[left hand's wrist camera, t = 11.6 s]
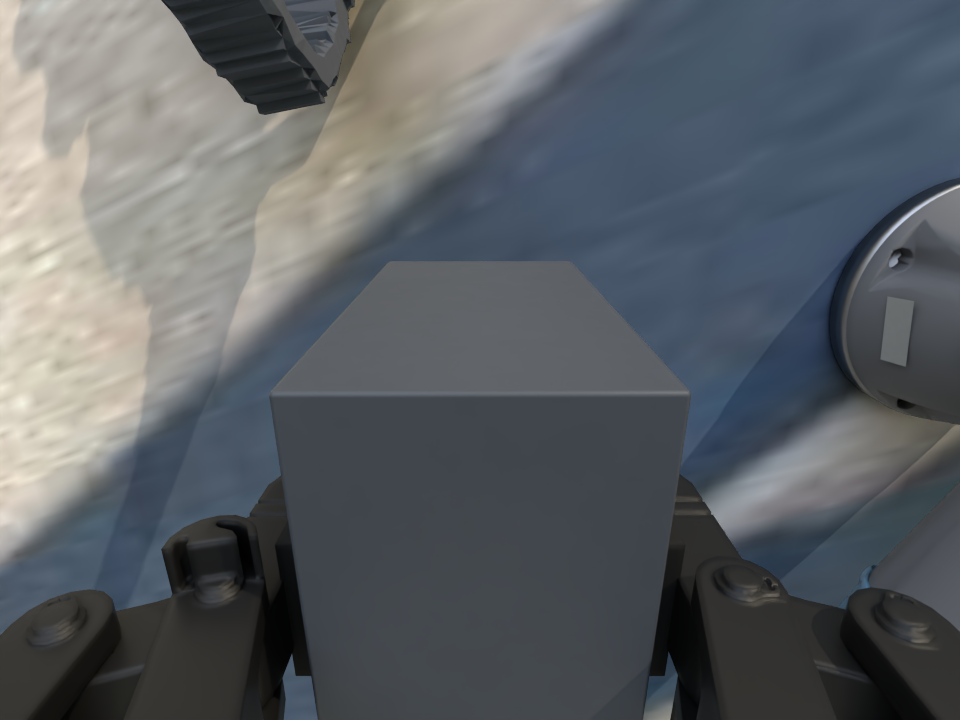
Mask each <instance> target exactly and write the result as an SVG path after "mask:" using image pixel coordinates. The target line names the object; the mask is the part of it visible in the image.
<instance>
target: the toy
mask: <svg viewBox="0 0 960 720" xmlns="http://www.w3.org/2000/svg"><path fill="white" fill-rule="evenodd" d="M162 2H163V3H164V4H165V5H166V6H167V7H168V8H169V9H170V10H171V12H172V13H173V14H174V15H175V16H176V18H177V19H178V20H179V21H180V23H181V24H182V26H183V27H184V29H185V31H186V32H187V34H188V36H189V37H190V39H191V41H192V43H193V44H194V46H195V48H196V49H197V51H198V52H199V54H200V56H201V57H202V59H203V60H204V61H205V62H206V63H208V64H209V65H211V66H212V67H213V68H215V69H216V72H217V75H218V76H220V77H223V78H226V79H227V80H228V81H229V82H230V83H231V84H232V86H233V87H234V88H235V89H236V91H237V92H238V94H239V95H240V96H241V98H242V99H243V101H244V102H247V103H250V104H254V105H257V109H258V112H259V114H263V115H267V114H272V113H277V112H282V111H287V110H292V109H297V108H302V107H307V106H312V105H317V104H322V103H325V100H324V97H326V96H327V92H326V91H327V90H328V89H329V88H330V86H335V84H336V81H337V79H338V74H339V69H340V64H341V59H342V55H343V53H344V52H345V48H346V44H347V43H351V40H350V37H351V35H350V31H349V26H348V25H349V22H348V19H349V16H348V12H349V10H350V8H352V7H354V6H355V0H162Z"/></svg>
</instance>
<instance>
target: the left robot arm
mask: <svg viewBox="0 0 960 720" xmlns="http://www.w3.org/2000/svg"><path fill="white" fill-rule="evenodd" d="M830 338H831V344H832V348H833V351H834V355H835V357H836V360H837V362H838V364H839V366H840V368H841V369H842V371H843V373H844V374H845V375H846V377H847V378H848V379H849V380H850V381H851V382H852V383H853V384H854V385H855V386H856V387H857V388H858V389H860V390H861V391H862V392H864V393H865V394H867V395H869V396H870V397H872V398H874V399H875V400H877V401H879V402H880V403H882V404H884V405H885V406H887V407H889V408H891V409H894V410H896V411H898V412H901V413H904V414H908V415H912V416H916V417H920V418H926V419H931V420H936V421H942V422H948V423H953V424H959V425H960V178H957V179H954V180H950V181H947V182H944V183H941V184H938V185H936V186H933V187H931V188H929V189H927V190H925V191H922V192H921V193H919V194H917V195H915V196H914V197H912V198H910V199H908V200H907V201H905V202H904V203H902V204H901V205H899V206H898V207H897V208H895V209H894V210H893V211H892V212H890V213H889V214H888V215H887V216H886V217H884V218H883V219H882V220H881V221H880V222H879V223H878V224H877V225H876V226H875V227H874V228H873V229H872V230H871V231H870V232H869V233H868V234H867V236H866V237H865V238H864V239H863V240H862V242H861V243H860V244H859V245H858V247H857V248H856V250H855V251H854V253H853V254H852V256H851V257H850V259H849V261H848V263H847V264H846V266H845V268H844V270H843V272H842V274H841V276H840V279H839V281H838V284H837V287H836V289H835V293H834V297H833V300H832V305H831V312H830ZM161 550H162V554H163V558H164V562H165V566H166V570H167V574H168V578H169V582H170V586H171V590H172V596H171V598H168V599H164V600H161V601H158V602H154V603H150V604H146V605H141V606H137V607H133V608H128V609H124V610H120V611H116V610H115V607H114V604H113V600H112V598H110V597H109V596H108V595H107V594H106V593H105V592H102V591H96V590H82V591H74V592H69V593H66V594H64V595H61V596H58V597H55V598H52V599H49V600H47V601H46V602H44V603H42V604H40V605H38V606H36V607H34V608H33V609H31V610H29V611H28V612H26V613H25V614H24V615H23V616H21V617H20V618H19V619H18V620H16V621H15V622H14V623H13V624H11V625H10V626H9V627H8V628H7V629H6V630H5V631H4V632H3V633H2V634H1V635H0V720H284V710H285V700H286V699H285V691H284V684H283V679H282V677H283V675H284V672H285V670H286V667H287V664H288V662H289V659H290V657H291V654H292V655H293V661H294V667H295V674H296V676H311V670H310V663H309V656H308V650H307V643H306V637H305V630H304V623H303V617H302V610H301V603H300V597H299V590H298V583H297V577H296V570H295V563H294V557H293V550H292V543H291V537H290V530H289V523H288V517H287V510H286V503H285V497H284V490H283V483H282V477H281V476H280V477H279V478H278V479H276V480H275V481H273V482H272V483H271V484H269V485H268V487H267V488H266V490H265V491H264V493H263V494H262V496H261V497H260V499H259V500H258V504H256V505H255V507H254V508H253V510H252V511H251V513H250V517H247V518H244V517H240V516H237V515H224V516H215V517H211V518H207V519H203V520H200V521H198V522H195V523H193V524H191V525H189V526H186V527H184V528H183V529H181V530H180V531H179V532H177V533H176V534H175V535H173V536H172V537H170V538H169V540H168V541H167V542H166V544H165V545H164V546H163V548H162V549H161ZM668 651H669V653H670V656H671V658H672V661H673V663H674V666H675V669H676V671H677V674H678V679H677V684H676V690H675V696H674V702H673V708H672V713H671V719H670V720H960V482H959V483H958V484H957V485H956V486H955V487H954V488H953V489H952V490H951V491H950V492H949V493H948V494H947V495H946V496H945V497H944V498H943V499H942V500H941V501H940V502H939V503H938V504H937V505H936V506H935V507H934V508H933V509H932V510H931V511H930V512H929V513H928V514H927V515H926V516H925V517H924V519H923V520H922V521H921V522H920V523H919V524H918V525H917V526H916V527H915V528H914V529H913V530H912V531H911V532H910V533H909V534H908V535H907V536H906V537H905V538H904V539H903V540H902V541H901V542H900V543H899V544H898V545H897V546H896V547H895V548H894V549H893V550H892V551H891V552H890V553H889V554H888V555H887V556H886V557H885V558H884V559H883V560H882V561H881V562H880V563H879V564H878V565H873V566H868V567H867V568H866V569H865V570H864V571H863V573H862V574H861V576H860V581H859V584H858V585H857V586H856V587H855V588H854V590H853V591H852V592H851V593H850V594H849V595H848V597H847V598H846V599H845V600H844V601H843V602H842V603H841V605H840V606H839V607H838V608H837V607H833V606H829V605H824V604H820V603H816V602H811V601H807V600H803V599H800V598H797V597H793V596H790V595H788V593H787V591H786V590H785V588H784V587H783V585H782V584H781V582H780V581H779V580H778V579H777V578H776V577H775V576H773V575H772V574H771V573H770V572H768V571H767V570H766V569H764V568H762V567H760V566H758V565H756V564H754V563H752V562H750V561H747V560H743V559H742V558H741V557H740V555H739V554H738V552H737V551H736V549H735V548H734V546H733V545H732V543H731V541H730V540H729V538H728V537H727V535H726V534H725V532H724V531H723V529H722V528H721V526H720V525H719V523H718V522H717V520H716V519H715V517H714V516H713V515H711V511H710V510H709V508H708V507H707V505H706V504H705V502H702V498H701V496H700V495H699V493H698V492H697V490H696V489H695V487H694V486H693V484H692V483H691V482H689V481H688V480H687V479H685V478H684V477H683V476H681V475H680V474H679V479H678V486H677V493H676V500H675V506H674V513H673V520H672V526H671V533H670V540H669V547H668V553H667V560H666V567H665V573H664V580H663V587H662V594H661V600H660V607H659V614H658V620H657V627H656V634H655V641H654V647H653V654H652V661H651V667H650V674H649V676H665V670H666V664H667V657H668Z"/></svg>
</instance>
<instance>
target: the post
mask: <svg viewBox="0 0 960 720" xmlns="http://www.w3.org/2000/svg"><path fill="white" fill-rule="evenodd" d="M269 397H270V404H271V410H272V417H273V424H274V430H275V437H276V444H277V450H278V457H279V463H280V470H281V477H282V483H283V490H284V497H285V503H286V510H287V517H288V523H289V530H290V537H291V543H292V550H293V557H294V563H295V570H296V577H297V583H298V590H299V597H300V603H301V610H302V617H303V623H304V630H305V637H306V643H307V650H308V656H309V663H310V670H311V676H312V683H313V690H314V696H315V703H316V710H317V716H318V720H643V714H644V708H645V701H646V694H647V688H648V681H649V674H650V667H651V661H652V654H653V647H654V641H655V634H656V627H657V620H658V614H659V607H660V600H661V594H662V587H663V580H664V573H665V567H666V560H667V553H668V547H669V540H670V533H671V526H672V520H673V513H674V506H675V500H676V493H677V486H678V479H679V473H680V466H681V459H682V453H683V446H684V439H685V432H686V426H687V419H688V412H689V406H690V399H691V394H690V391H689V390H688V389H687V388H686V386H685V385H684V384H683V383H682V382H681V381H680V380H679V379H678V378H677V377H676V376H675V374H674V373H673V372H672V371H671V370H670V369H669V368H668V367H667V366H666V365H665V364H664V362H663V361H662V360H661V359H660V358H659V357H658V356H657V355H656V354H655V353H654V352H653V350H652V349H651V348H650V347H649V346H648V345H647V344H646V343H645V342H644V341H643V340H642V338H641V337H640V336H639V335H638V334H637V333H636V332H635V331H634V330H633V329H632V328H631V326H630V325H629V324H628V323H627V322H626V321H625V320H624V319H623V318H622V317H621V316H620V314H619V313H618V312H617V311H616V310H615V309H614V308H613V307H612V306H611V305H610V304H609V302H608V301H607V300H606V299H605V298H604V297H603V296H602V295H601V294H600V293H599V292H598V290H597V289H596V288H595V287H594V286H593V285H592V284H591V283H590V282H589V281H588V280H587V278H586V277H585V276H584V275H583V274H582V273H581V272H580V271H579V270H578V269H577V268H576V266H575V265H574V264H573V263H572V262H570V261H390V262H388V263H387V264H386V265H385V266H384V268H383V269H382V270H381V271H380V272H379V273H378V274H377V275H376V276H375V277H374V279H373V280H372V281H371V282H370V283H369V284H368V285H367V286H366V287H365V288H364V290H363V291H362V292H361V293H360V294H359V295H358V296H357V297H356V298H355V299H354V300H353V302H352V303H351V304H350V305H349V306H348V307H347V308H346V309H345V310H344V311H343V313H342V314H341V315H340V316H339V317H338V318H337V319H336V320H335V321H334V322H333V324H332V325H331V326H330V327H329V328H328V329H327V330H326V331H325V332H324V333H323V334H322V336H321V337H320V338H319V339H318V340H317V341H316V342H315V343H314V344H313V345H312V347H311V348H310V349H309V350H308V351H307V352H306V353H305V354H304V355H303V356H302V357H301V359H300V360H299V361H298V362H297V363H296V364H295V365H294V366H293V367H292V368H291V370H290V371H289V372H288V373H287V374H286V375H285V376H284V377H283V378H282V379H281V381H280V382H279V383H278V384H277V385H276V386H275V387H274V388H273V389H272V390H271V392H270V395H269Z"/></svg>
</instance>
